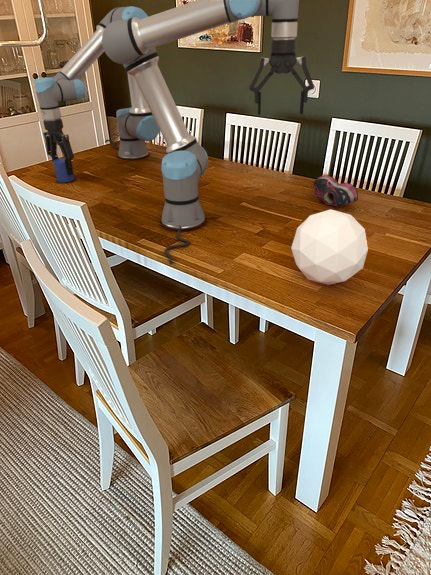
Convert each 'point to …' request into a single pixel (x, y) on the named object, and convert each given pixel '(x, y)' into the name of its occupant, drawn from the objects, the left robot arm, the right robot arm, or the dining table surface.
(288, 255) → the dining table surface
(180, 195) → the right robot arm
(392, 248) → the dining table surface
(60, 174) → the canister
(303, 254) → the sphere
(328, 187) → the athletic shoe
